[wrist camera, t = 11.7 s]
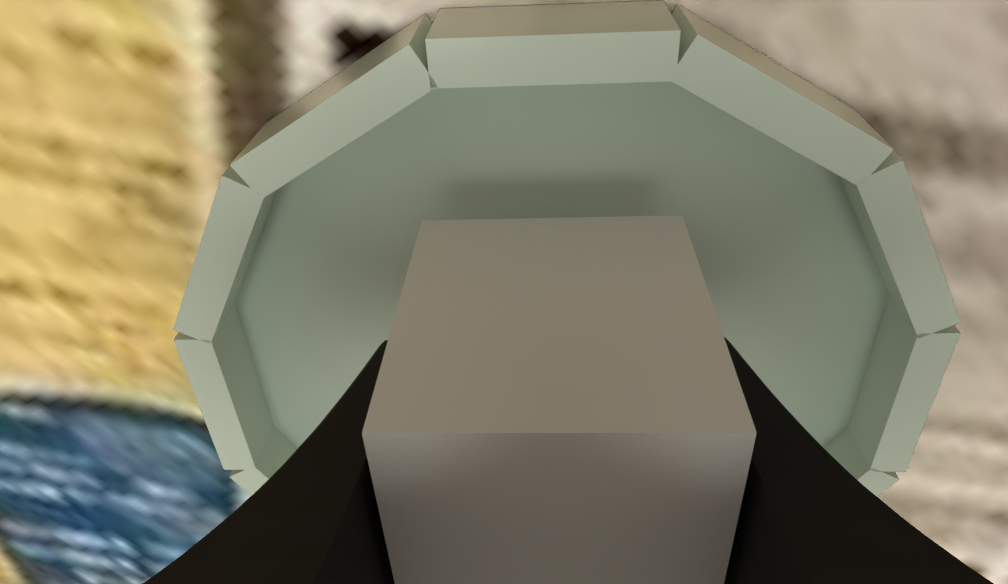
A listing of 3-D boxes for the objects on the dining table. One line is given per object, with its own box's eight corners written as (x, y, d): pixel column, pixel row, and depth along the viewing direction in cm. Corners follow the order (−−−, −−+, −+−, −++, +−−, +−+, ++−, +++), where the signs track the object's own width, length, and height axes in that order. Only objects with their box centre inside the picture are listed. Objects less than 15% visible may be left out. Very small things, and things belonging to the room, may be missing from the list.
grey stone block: (682, 215, 12) (757, 432, 8) (661, 407, 14) (710, 649, 10) (421, 220, 12) (361, 433, 8) (445, 409, 15) (408, 644, 11)
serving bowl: (1013, -13, 12) (1086, 16, 11) (822, 557, 21) (846, 620, 20) (120, 20, 13) (61, 51, 12) (298, 551, 22) (278, 611, 21)
